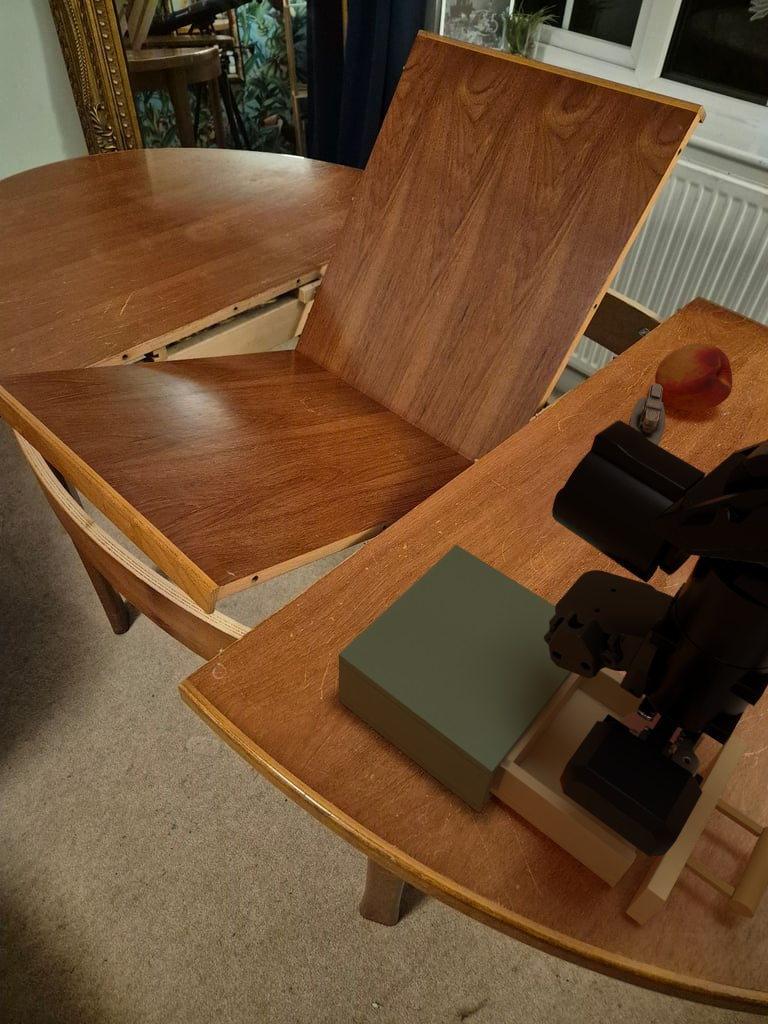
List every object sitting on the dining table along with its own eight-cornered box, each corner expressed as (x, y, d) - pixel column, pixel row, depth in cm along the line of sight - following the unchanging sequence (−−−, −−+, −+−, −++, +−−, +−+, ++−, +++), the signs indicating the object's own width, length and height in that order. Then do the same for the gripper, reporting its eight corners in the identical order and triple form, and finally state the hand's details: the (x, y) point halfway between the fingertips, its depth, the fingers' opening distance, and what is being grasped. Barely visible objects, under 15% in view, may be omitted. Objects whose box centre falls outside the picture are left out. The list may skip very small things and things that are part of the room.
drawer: (787, 816, 53) (818, 787, 49) (712, 981, 45) (743, 960, 42) (575, 677, 60) (589, 643, 57) (481, 799, 53) (491, 768, 49)
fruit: (675, 432, 85) (700, 374, 79) (634, 392, 90) (654, 334, 84) (730, 418, 87) (757, 361, 81) (686, 380, 92) (709, 323, 87)
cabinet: (580, 680, 61) (600, 633, 56) (478, 813, 53) (492, 771, 48) (447, 593, 67) (456, 544, 62) (338, 700, 59) (338, 653, 54)
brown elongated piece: (639, 504, 76) (671, 428, 69) (606, 496, 77) (634, 420, 70) (646, 456, 82) (676, 381, 74) (615, 449, 82) (641, 373, 75)
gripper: (665, 462, 47) (602, 612, 58) (501, 648, 36) (463, 787, 48) (847, 551, 42) (741, 695, 53) (718, 794, 32) (619, 910, 43)
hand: (643, 761), depth 49 cm, fingers closed on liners, 5 cm apart
